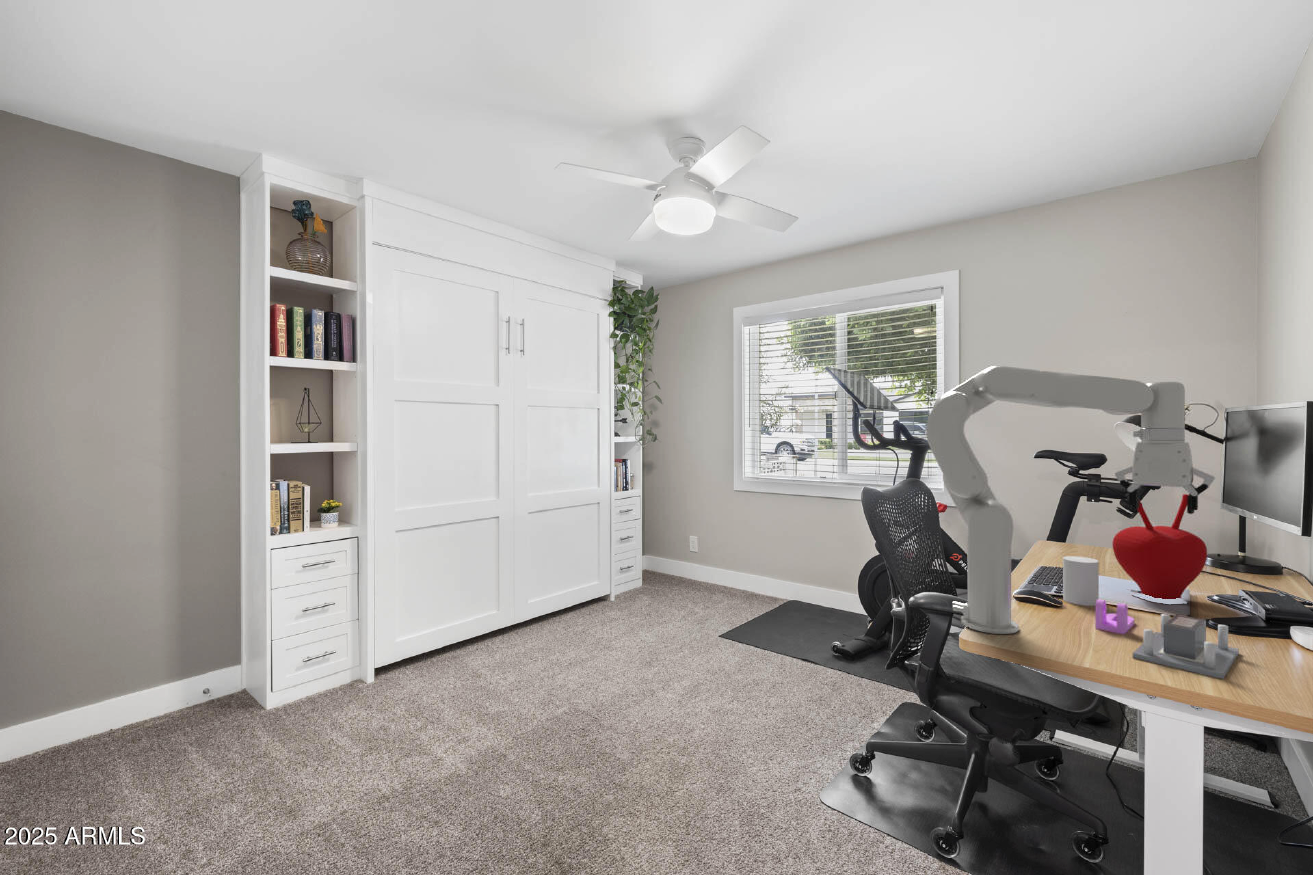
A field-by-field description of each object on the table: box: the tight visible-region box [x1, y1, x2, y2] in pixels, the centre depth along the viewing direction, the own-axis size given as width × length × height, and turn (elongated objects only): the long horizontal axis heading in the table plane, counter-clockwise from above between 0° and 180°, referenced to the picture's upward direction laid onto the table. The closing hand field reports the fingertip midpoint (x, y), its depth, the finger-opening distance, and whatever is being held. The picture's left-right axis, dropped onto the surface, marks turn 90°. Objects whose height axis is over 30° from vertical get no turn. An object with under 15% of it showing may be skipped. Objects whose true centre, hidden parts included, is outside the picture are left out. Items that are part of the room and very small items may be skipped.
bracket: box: [1094, 598, 1135, 635], centre depth 145 cm, size 13×6×7 cm, turn 130°
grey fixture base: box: [1132, 613, 1240, 680], centre depth 125 cm, size 14×20×6 cm
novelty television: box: [1112, 493, 1208, 599], centre depth 165 cm, size 21×13×30 cm, turn 94°
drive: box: [1164, 613, 1207, 660], centre depth 125 cm, size 5×11×6 cm, turn 128°
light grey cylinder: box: [1062, 555, 1100, 607], centre depth 165 cm, size 8×8×12 cm
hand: (1162, 510), depth 133 cm, fingers open, 9 cm apart
